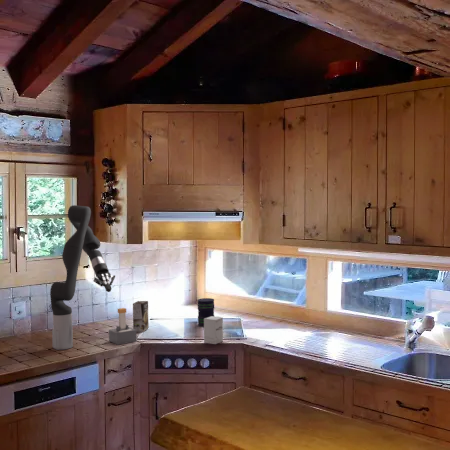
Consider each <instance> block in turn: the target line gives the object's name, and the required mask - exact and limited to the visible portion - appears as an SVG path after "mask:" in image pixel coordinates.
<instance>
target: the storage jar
mask: <svg viewBox="0 0 450 450" xmlns="http://www.w3.org/2000/svg"><path fill="white" fill-rule="evenodd" d="M197 310H198V311H197V312H198V315H197V321H198V322H197V323H198V324H197V326H198V327H203V328H204V319H205V318H208V317H211V316H214V317H215V299H214V298H209V297H208V298H207V297H204V298H198V299H197Z"/></svg>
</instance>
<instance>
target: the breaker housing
mask: <svg viewBox="0 0 450 450" xmlns="http://www.w3.org/2000/svg"><path fill="white" fill-rule="evenodd" d="M137 340H138V339H137V332H136V330H135V329H133V327H130V326H129V325H128V324H126V329H121V330H120V326H119V325H116V326H115V328H111V329H108V341H109V342H110V343H112V344H114V345H118V346H119V345H123V344H129V343H135V342H137Z"/></svg>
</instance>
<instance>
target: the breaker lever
mask: <svg viewBox="0 0 450 450" xmlns="http://www.w3.org/2000/svg"><path fill="white" fill-rule="evenodd" d="M117 313H118V326H120V330H121V329H126V325H127V322H126V320H127V319H126V318H127V317H126V314H127V308H125V307H120V308H117Z"/></svg>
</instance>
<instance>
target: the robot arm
mask: <svg viewBox="0 0 450 450" xmlns="http://www.w3.org/2000/svg"><path fill="white" fill-rule="evenodd" d="M91 215H92V211H91V208H90V206H85V205H76V204H73V205H71V206H69V208H68V210H67V218H68V220H69V222H70V223H71V224H72V226H73V227H74V229H75V232H74V233H73V234H72V235H71V236H70V237H69V239H67V240H66V241H65V244H64V247H63V249H62V250H63V251H62V254H61V255H62V257H61V258H62V262H63V265H64V267H65V271H66V278H65V281H56V282H53V283H52V284H51V286H50V290H49V294H50V303H51V304H50V308H51V310H52V325H53V327H52V329H51V335H52V341H51V342H52V348H53V349H54V350H56V351H58V350H68V349H71V348H73V346H74V340H73V338H74V337H73V309H72V307H71V306H69V305H68V304H66V303H65V302H69V301H71V300H73V298H74V296H75V293H76V287H77V277H78V271H79V266H80V261H81V257H82V253H83V252H84V253H85V254H86V255H87V257H88V259H89V260H90V263H91V266H92V269H93V272H94V274H95V277H94V278H93V282H94V283H95V284H96V285H98V286H99V287H103V288H104V289H105V292H107V293H110V292H111V291H112V285H113V283H114V280H115V278H116V275H112V274H111V272H110V271H109V268H108V266H107V263H106V261H105V259H104V257H103V255H102V253H101V251H100V249H99V248H100V247H101V240H99V238H98V237H97V236H96V235H94V232H93V229H92V228H91V227H90V225H89V223H90V219H91ZM98 249H99V250H98Z"/></svg>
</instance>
